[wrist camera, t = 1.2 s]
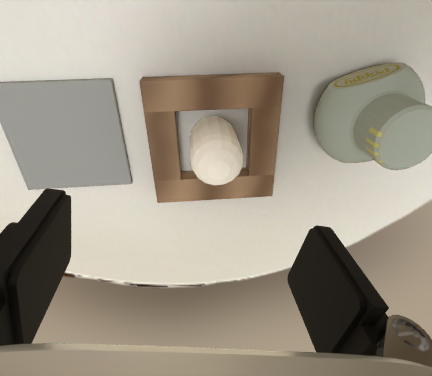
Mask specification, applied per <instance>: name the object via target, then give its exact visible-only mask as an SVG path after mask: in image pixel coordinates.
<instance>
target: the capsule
mask: <svg viewBox="0 0 432 376" xmlns="http://www.w3.org/2000/svg"><path fill="white" fill-rule="evenodd" d="M190 161H191V167H192V169H193V171H194V172H195V174H196V176H197V177H198V178H199V179H200V180H202V181H203V182H204V183H207V184H211V185H224V184H226V183H228V182H230V181H232V180H233V179H234V178H235V177H236V176H237V175H239V173H240V170H241V168H242V165H243V151H242V149H241V146H240V144H239V141H238V138H237V136H236V133H235V131H234V129H233V127H232V125H231V124H230V123H229V122H228V121H227V120H225V119H223V118H220V117H217V116H215V117H206V118H204V119H202V120H200V121H198V122H197V124H196V125H195V126H194V127H193V128H192V131H191V135H190Z"/></svg>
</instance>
